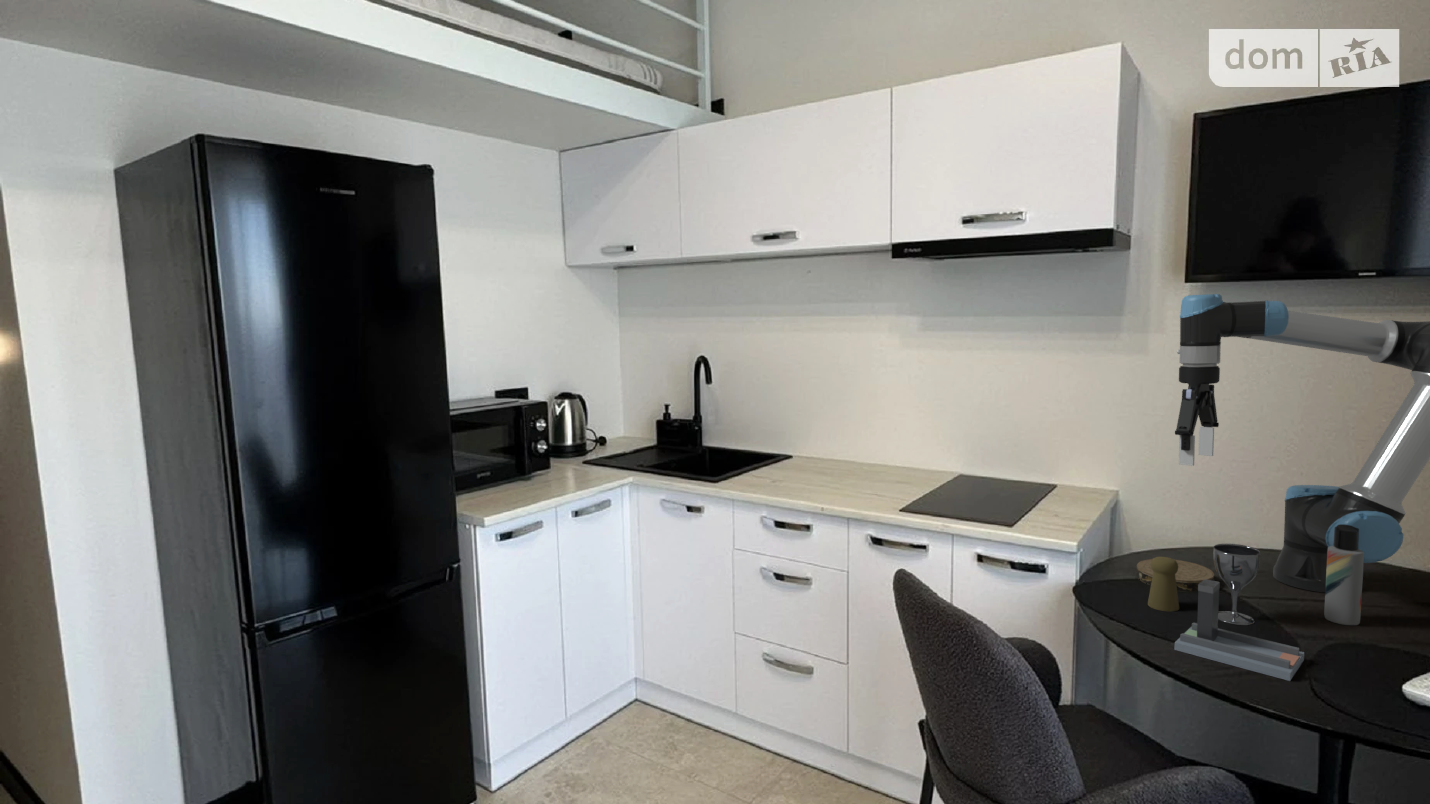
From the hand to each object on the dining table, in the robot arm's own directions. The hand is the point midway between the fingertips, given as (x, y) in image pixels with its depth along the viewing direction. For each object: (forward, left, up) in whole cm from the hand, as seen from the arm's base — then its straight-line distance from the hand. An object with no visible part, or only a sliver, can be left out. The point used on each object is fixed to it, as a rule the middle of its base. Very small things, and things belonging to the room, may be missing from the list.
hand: (1196, 460), depth 164 cm
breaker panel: (+8, +29, -32) cm, 44 cm away
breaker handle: (+12, +25, -30) cm, 41 cm away
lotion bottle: (-22, +14, -32) cm, 41 cm away
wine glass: (-2, +12, -32) cm, 34 cm away
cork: (+9, +5, -32) cm, 34 cm away
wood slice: (-2, -11, -32) cm, 34 cm away
